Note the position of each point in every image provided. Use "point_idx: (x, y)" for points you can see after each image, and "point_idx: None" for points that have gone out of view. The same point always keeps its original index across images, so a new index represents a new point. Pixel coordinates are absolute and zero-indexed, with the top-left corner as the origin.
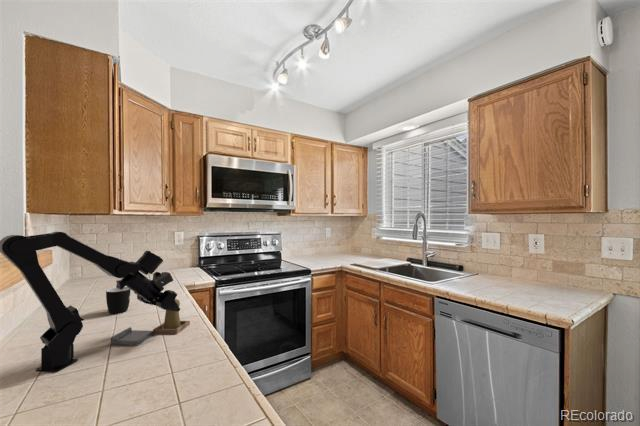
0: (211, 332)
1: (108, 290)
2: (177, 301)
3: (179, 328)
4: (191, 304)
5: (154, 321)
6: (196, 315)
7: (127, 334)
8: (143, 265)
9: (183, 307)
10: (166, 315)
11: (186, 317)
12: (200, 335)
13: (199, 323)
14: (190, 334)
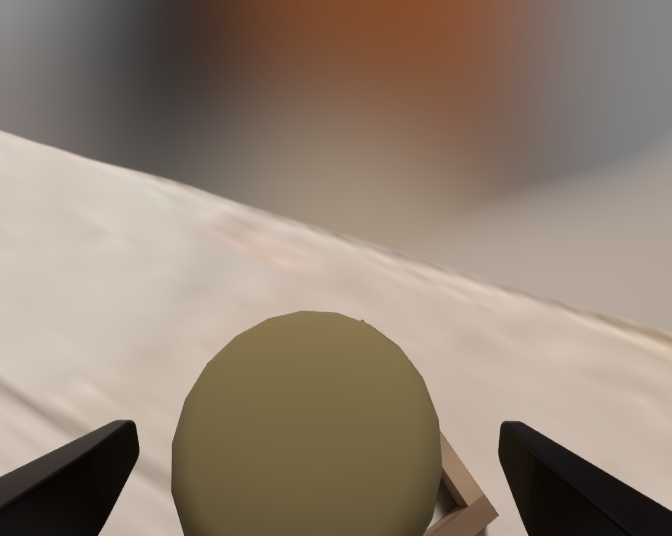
0: (630, 327)
1: None
2: (413, 374)
3: (466, 470)
4: (44, 148)
5: (15, 459)
6: (237, 221)
7: None
8: None
9: (29, 191)
10: None
11: (206, 270)
12: (648, 406)
13: (393, 282)
14: (574, 442)
